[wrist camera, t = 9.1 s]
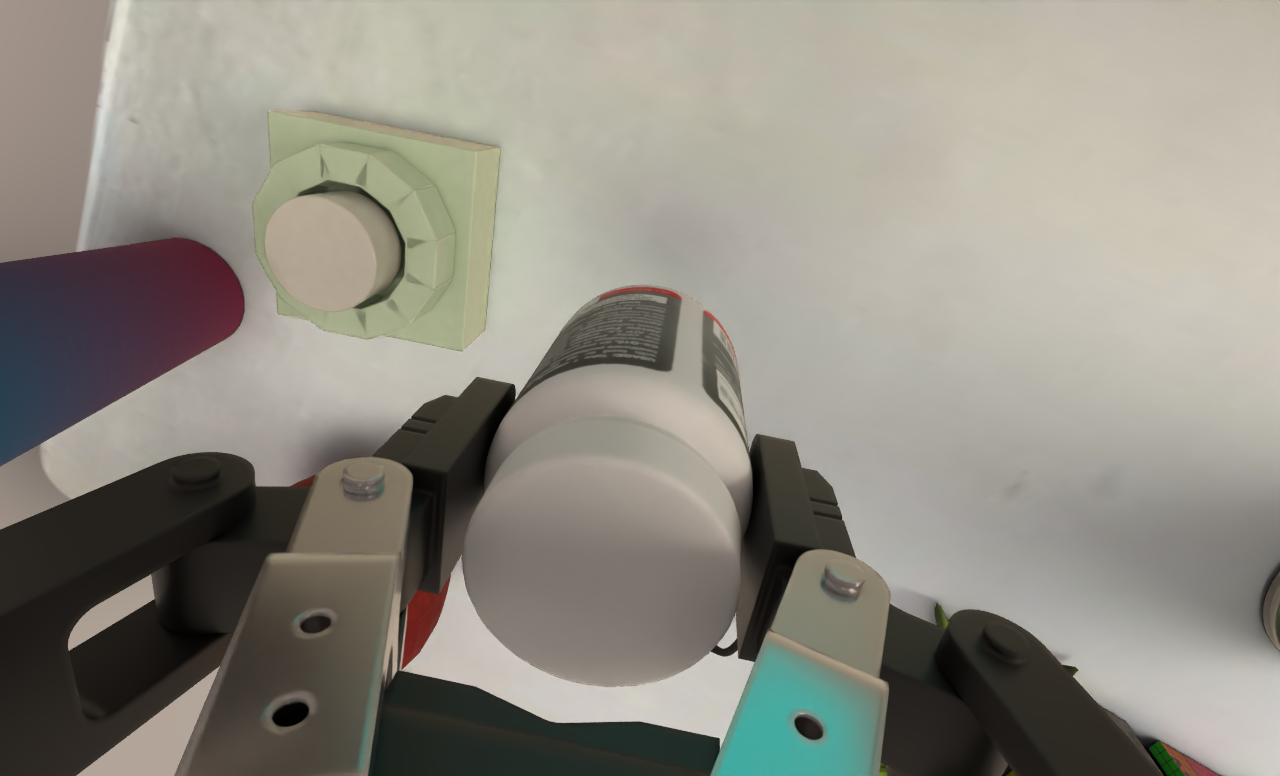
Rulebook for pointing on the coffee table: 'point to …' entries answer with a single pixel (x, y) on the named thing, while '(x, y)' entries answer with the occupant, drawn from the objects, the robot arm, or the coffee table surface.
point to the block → (1157, 755)
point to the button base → (394, 220)
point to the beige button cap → (332, 249)
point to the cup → (103, 329)
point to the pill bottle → (617, 496)
